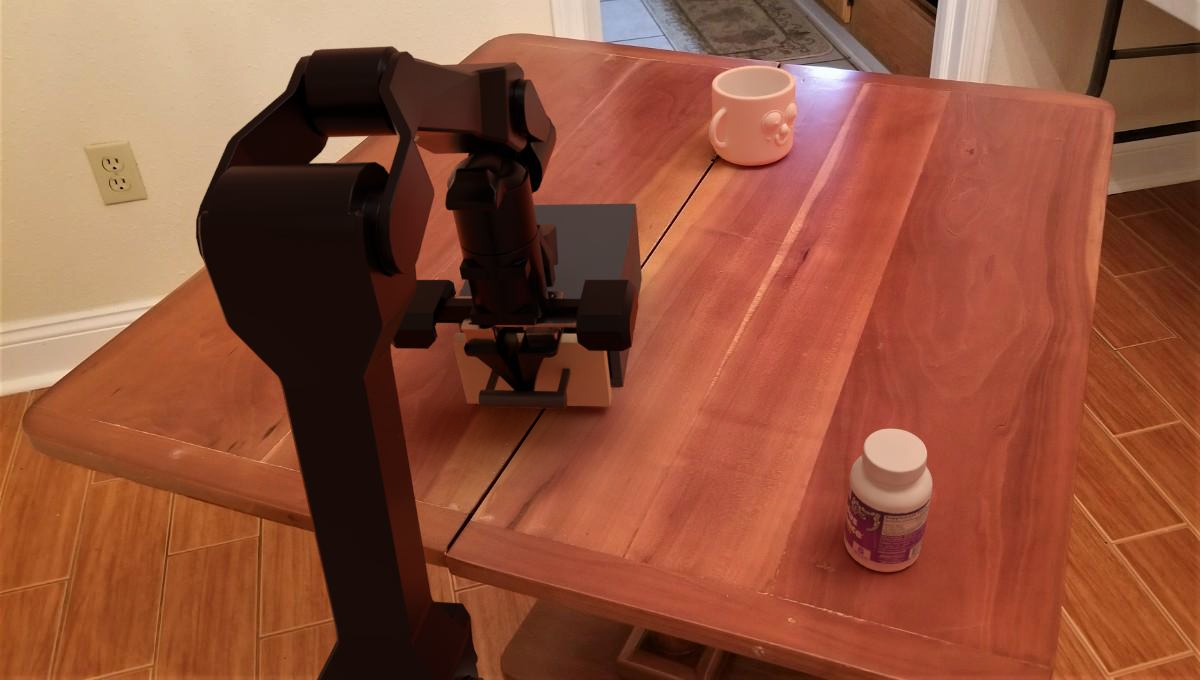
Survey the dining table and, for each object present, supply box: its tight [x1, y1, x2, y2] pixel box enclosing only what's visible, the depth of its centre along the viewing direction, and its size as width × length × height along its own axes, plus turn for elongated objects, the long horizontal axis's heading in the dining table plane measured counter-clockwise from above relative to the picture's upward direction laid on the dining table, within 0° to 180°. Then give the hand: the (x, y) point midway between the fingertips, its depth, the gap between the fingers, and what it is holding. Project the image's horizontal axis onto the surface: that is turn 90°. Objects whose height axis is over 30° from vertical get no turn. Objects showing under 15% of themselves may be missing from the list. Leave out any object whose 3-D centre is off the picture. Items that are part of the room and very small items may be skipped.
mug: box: [708, 65, 799, 166], centre depth 111 cm, size 12×10×9 cm
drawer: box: [451, 327, 613, 410], centre depth 83 cm, size 20×13×7 cm, turn 172°
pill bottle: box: [843, 428, 933, 573], centre depth 64 cm, size 5×5×10 cm
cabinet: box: [458, 203, 643, 387], centre depth 88 cm, size 17×14×9 cm
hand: (528, 395), depth 77 cm, fingers closed, pressing on drawer
